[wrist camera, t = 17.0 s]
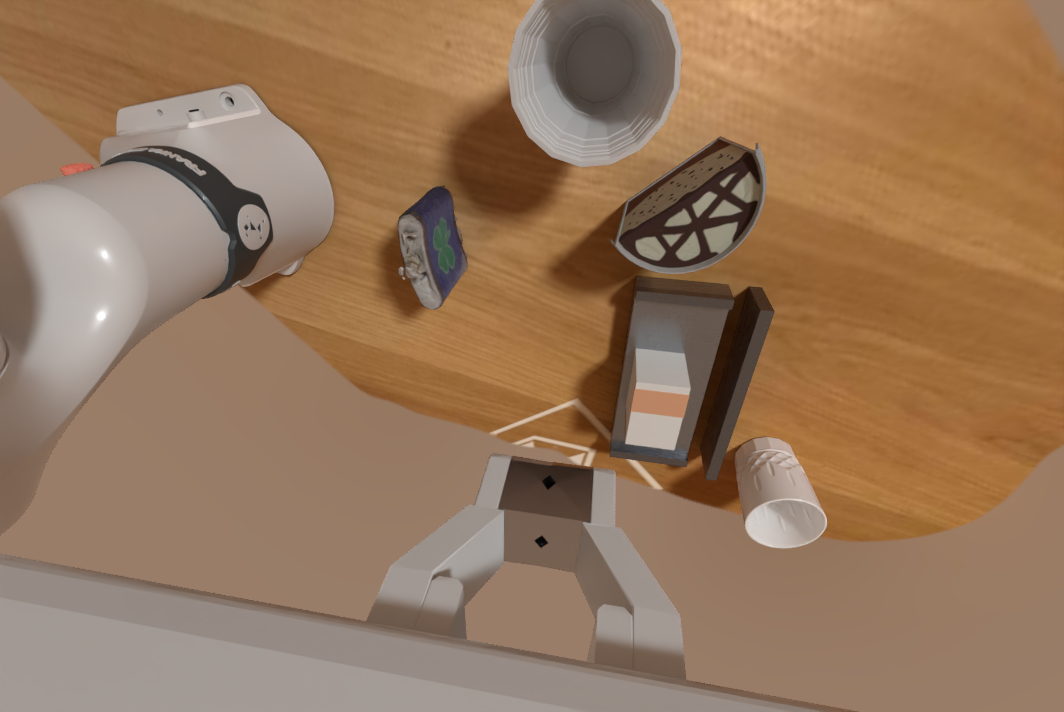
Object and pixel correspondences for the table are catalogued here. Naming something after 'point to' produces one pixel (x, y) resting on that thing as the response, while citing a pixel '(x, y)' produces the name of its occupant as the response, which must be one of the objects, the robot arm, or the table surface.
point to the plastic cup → (594, 76)
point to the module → (656, 399)
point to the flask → (432, 247)
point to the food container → (695, 210)
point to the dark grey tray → (692, 360)
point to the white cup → (776, 495)
